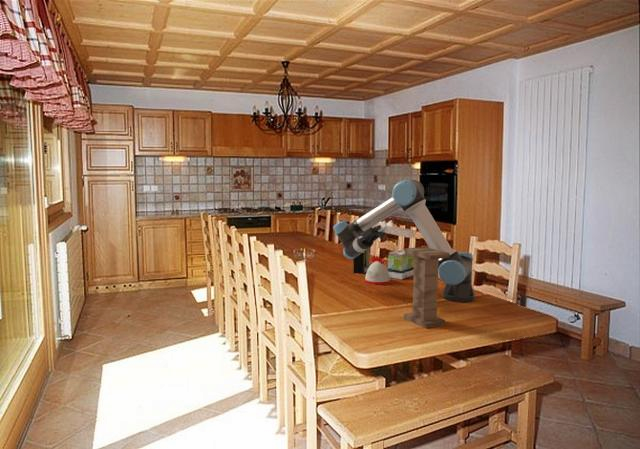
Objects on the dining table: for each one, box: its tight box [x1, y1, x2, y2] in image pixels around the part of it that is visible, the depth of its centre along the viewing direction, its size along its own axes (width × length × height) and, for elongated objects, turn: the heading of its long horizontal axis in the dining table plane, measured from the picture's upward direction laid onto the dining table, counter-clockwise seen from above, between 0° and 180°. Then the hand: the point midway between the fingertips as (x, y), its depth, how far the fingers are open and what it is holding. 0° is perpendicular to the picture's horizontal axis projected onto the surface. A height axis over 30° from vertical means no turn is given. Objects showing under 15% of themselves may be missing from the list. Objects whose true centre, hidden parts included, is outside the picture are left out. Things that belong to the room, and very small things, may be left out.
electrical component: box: [352, 236, 371, 275], centre depth 298 cm, size 18×10×20 cm, turn 168°
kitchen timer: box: [364, 254, 391, 286], centre depth 269 cm, size 14×14×15 cm
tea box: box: [387, 249, 414, 280], centre depth 283 cm, size 15×10×15 cm
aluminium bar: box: [374, 223, 416, 238], centre depth 216 cm, size 25×3×3 cm, turn 29°
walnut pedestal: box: [403, 246, 450, 329], centre depth 200 cm, size 16×10×30 cm, turn 28°
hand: (388, 223), depth 219 cm, fingers closed on aluminium bar, 3 cm apart
